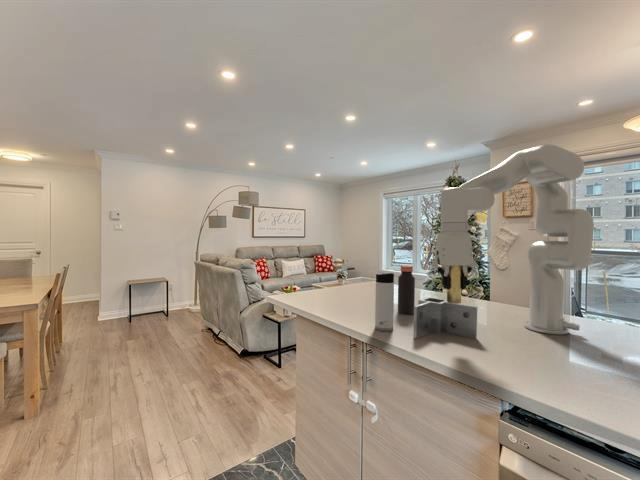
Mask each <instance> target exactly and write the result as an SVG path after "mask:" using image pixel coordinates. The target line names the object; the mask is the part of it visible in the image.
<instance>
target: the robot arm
mask: <svg viewBox="0 0 640 480" xmlns="http://www.w3.org/2000/svg"><path fill="white" fill-rule="evenodd" d="M584 170H585V163H584V161H583V159H582V158H581V156H579V155H578V154H577V153H574V152H572V151H570V150H568V149H566V148H563V147H561V146H559V145H558V146H557V145H554V144H548V143H547V144H544V143H543V144H541V145H536V146H534V147H529V148H526V149H522V150H519V151H517V152H515V153H513V154H512V155H510V156H509V157H508V158H506V159H505V160H503V161H502V162H501V163H499V164H498V165H497V166H495V167H493V168H492V169H490V170H488V171H486V172H484V173H482V174H480V175H478V176H476V177H473V178H472V179H470V180H468V181H466V182H464V183H462V184H461V185H459V187H449V188H448V187H447V188H444V189H443V190H441V193H440V233H438V234H437V236H436V242H435V250H434V259H433V260H432V262H431V264H430V267H431V268H433V269H434V270H436V271H437V272H438V273H439V274H440V275H441V285H442V287H443V289H445V290H447V289H450V277H449V276H448V272H449V267H450V266H454V265H459V266H461V290H465V289H466V285H467V276H468V275H469V273H470V272H472V270H473V269H475V268H477V267H478V263H477V261H476V260H475V258H474V256H473V255H474V252H473V251H474V250H473V243H472V237H471V234H470V233H469V230H472V228H473V226H472V224H469V222H468V218H469V217H468V215H469V214H470V213H471V214H472V213H473V214H474V213H483V212H487V211H488V210H489V209H492V207H493V206H494V204H495V202H496V201H495V200H496V199H495V195H498V194H502V193H504V192H507V191H509V190H511V189H513V188H514V187H515V186H516V185H517V184H518V183H520V182H521V181H522V180H524V179H526V181H527V183H528V184H529V185H530V186H531V187H532V189H533V190H534V191H535V193H536V196H537V210H536V217H535V218H536V219H535V220H536V221H535V231H536V233H537V234H538V235H539V236H542V237H546V238H567V241H566V240H565V241H562V240H539V241H536V242H532V244H531V245H530V246H529V247H528V249H527V257H528V263H529V269H530V288H529V292H530V293H529V294H530V295H529V320H528V321H525V322H523V323H524V325H523V326H524V328H527V329H528V330H531V331H533V332H537V333H541V334H548V335H557V336H558V335H566V334H569V330H573V331H578V332H579V331H580V327H581V326H580V324H577V323H575V322H574V323H573V322H568V321H566V318H565V317H564V295H565V294H564V292H565V291H564V288H565V283H564V282H565V281H564V278H563V276H562V274H561V273H560V270H565V271H566V270H567V271H581V270H582V271H583V270H585V269H586V268H587V267H588V266H589V264H590V261H591V257H592V250H593V249H592V248H593V239H594V225H595V224H594V218H593V216H592V214H591V213H590V212H589V211H587V210H586V209H583V208H570V209H569V208H568V202H569V196H568V194H567V193H568V192H567V191H566V190H565V189H564V188H563V187H562V186H561V185H560V184H559V183H562V182H563V183H565V182H571V181H575V180H577V179H579V178H580V177H581V176H582V175H583V173H584ZM439 265H440V266H441V267H440V266H439Z"/></svg>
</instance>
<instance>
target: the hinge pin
mask: <svg viewBox="0 0 640 480" xmlns="http://www.w3.org/2000/svg"><path fill="white" fill-rule="evenodd" d="M448 276H449V277H450V289H446V300H447V302H448V303H454V304H461V303H462V289H461V266H459V265H454V266H450V267H449V272H448Z"/></svg>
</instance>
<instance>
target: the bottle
mask: <svg viewBox="0 0 640 480" xmlns="http://www.w3.org/2000/svg"><path fill="white" fill-rule="evenodd" d="M413 268H414V267H413V265H408V264H407V265H405V264H404V265H400V272H401V274H400V275H399V276H398V277H397V278H398V280H397V312H398V313H399V314H402V315H406V316H407V315H414V306H415V292H416V291H415V289H416V281H415V280H416V278H415V276H414V275H413V271H414V270H413Z"/></svg>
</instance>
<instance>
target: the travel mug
mask: <svg viewBox="0 0 640 480" xmlns="http://www.w3.org/2000/svg"><path fill="white" fill-rule="evenodd" d="M394 293H395V274H394V273H393V272H391V273H389V272H388V273H381V274H379V273H376V274H375V309H374V310H375V311H374V313H375V315H374V316H375V317H374V326H375V327H374V328H375V330H377V331H379V332H384V333H385V332H392V331H393V330H394V304H395V303H394V302H395V301H394V299H395V298H394V297H395V294H394Z"/></svg>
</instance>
